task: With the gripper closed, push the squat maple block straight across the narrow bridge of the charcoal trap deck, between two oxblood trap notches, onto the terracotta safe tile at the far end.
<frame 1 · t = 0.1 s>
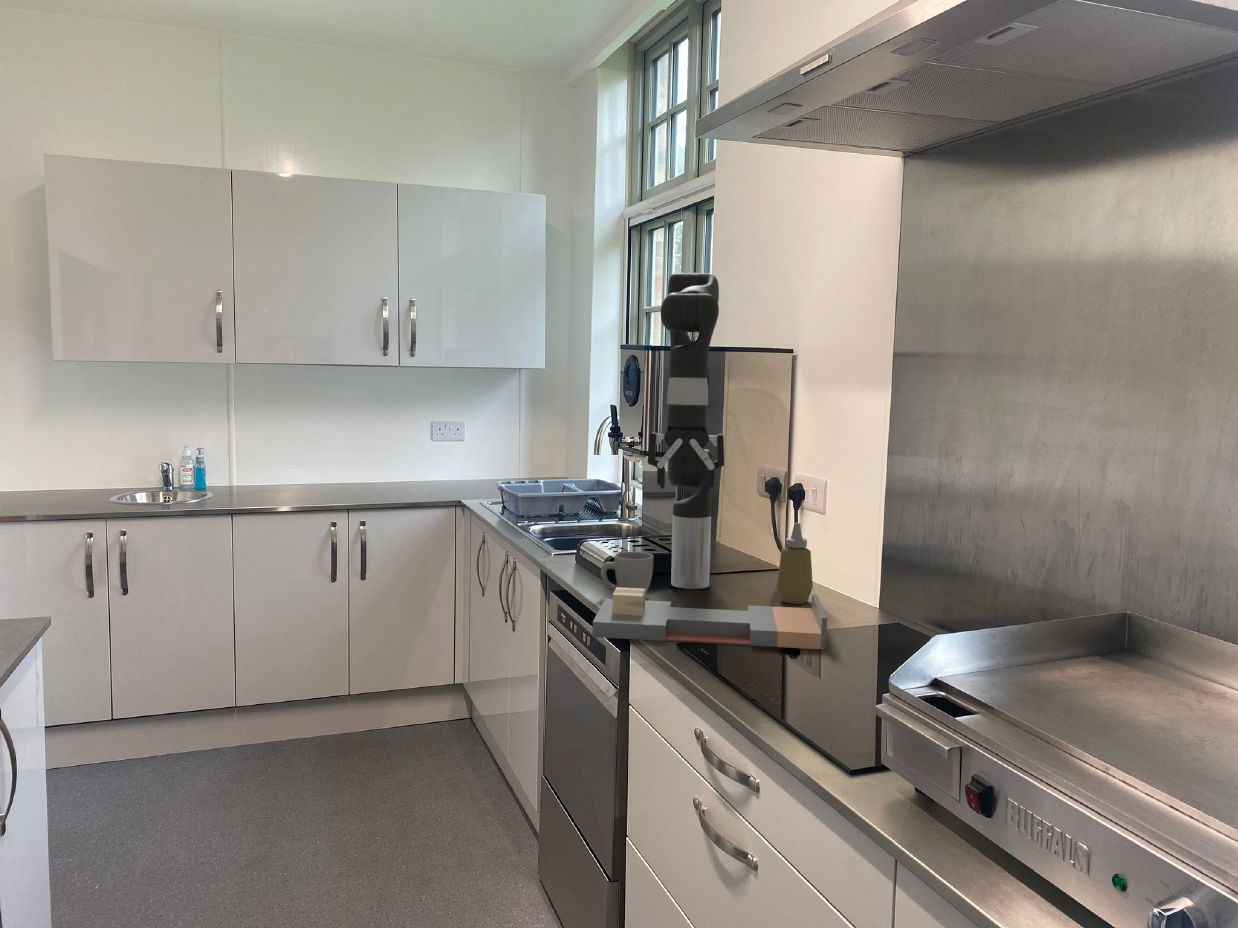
hand: (685, 488, 161), 29 cm above the worktop, fingers open, 8 cm apart
mug: (626, 597, 196), on the worktop
squeeze bottle: (794, 602, 195), on the worktop
maple block: (628, 610, 173), point 3 cm above the worktop, touching trap deck
trap deck: (708, 629, 171), on the worktop
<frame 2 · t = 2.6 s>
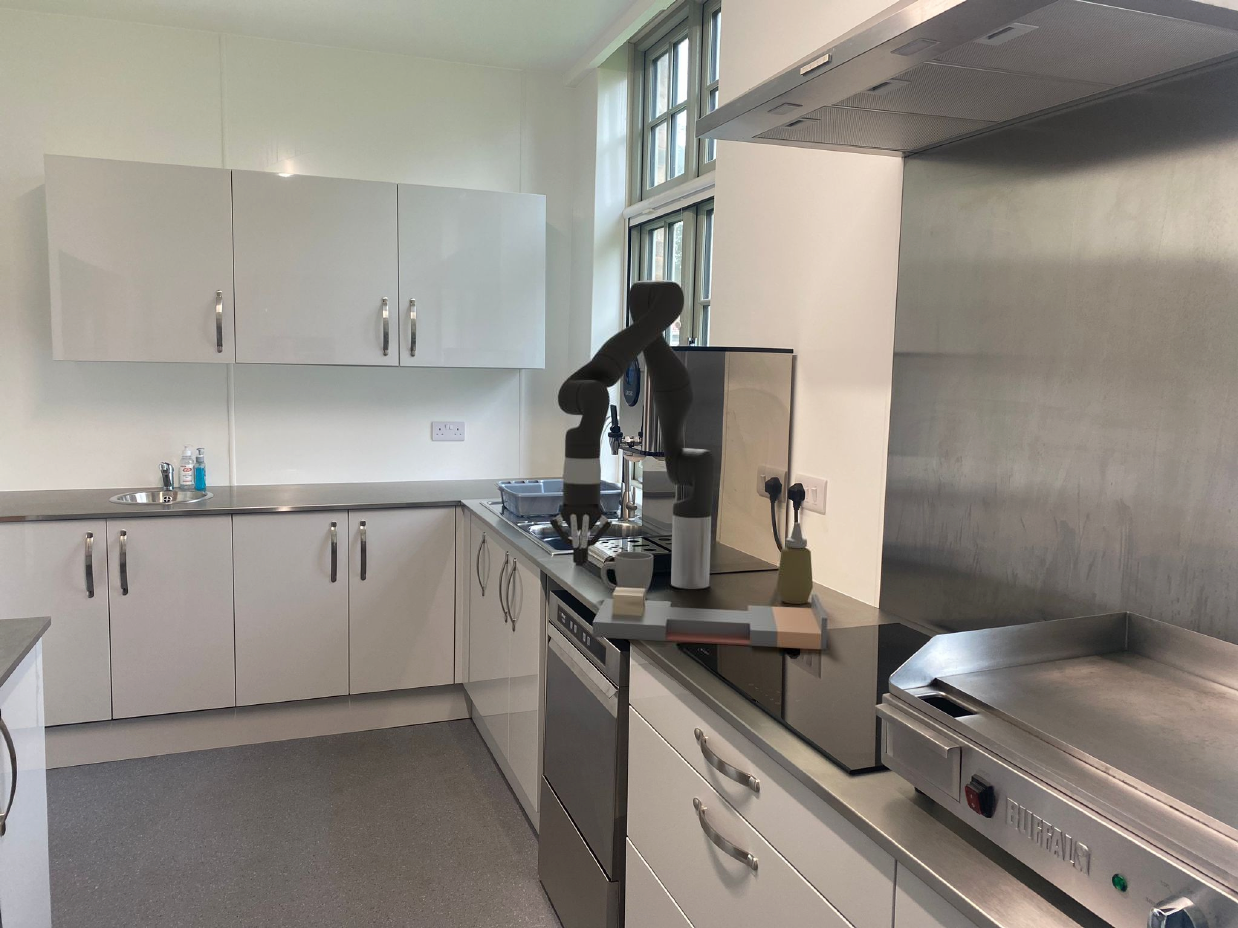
hand: (580, 565, 173), 12 cm above the worktop, fingers closed
nothing on the worktop moved.
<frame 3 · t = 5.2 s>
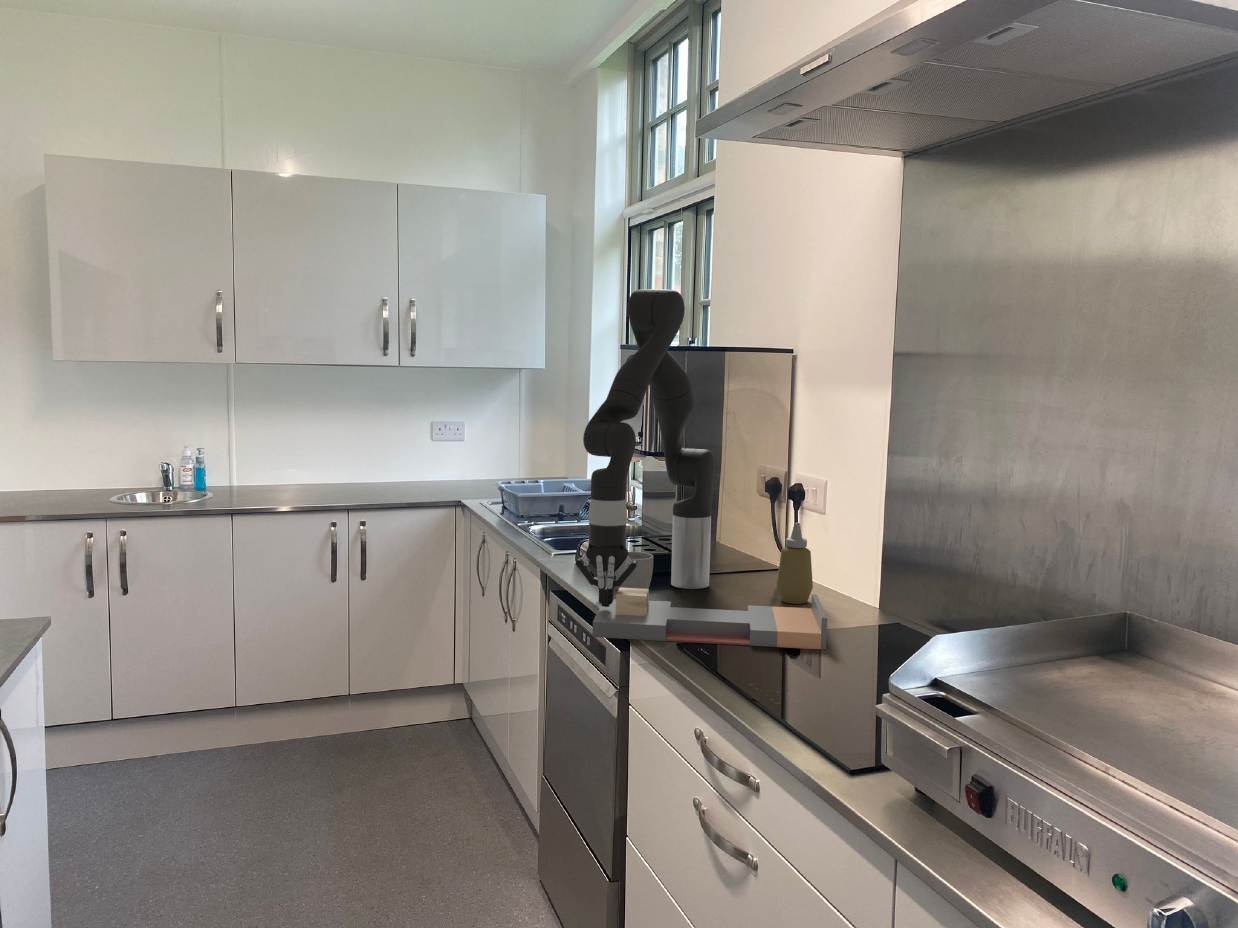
hand: (605, 605, 173), 4 cm above the worktop, fingers closed
maple block: (632, 611, 173), point 3 cm above the worktop, touching gripper, trap deck
everything else where it was.
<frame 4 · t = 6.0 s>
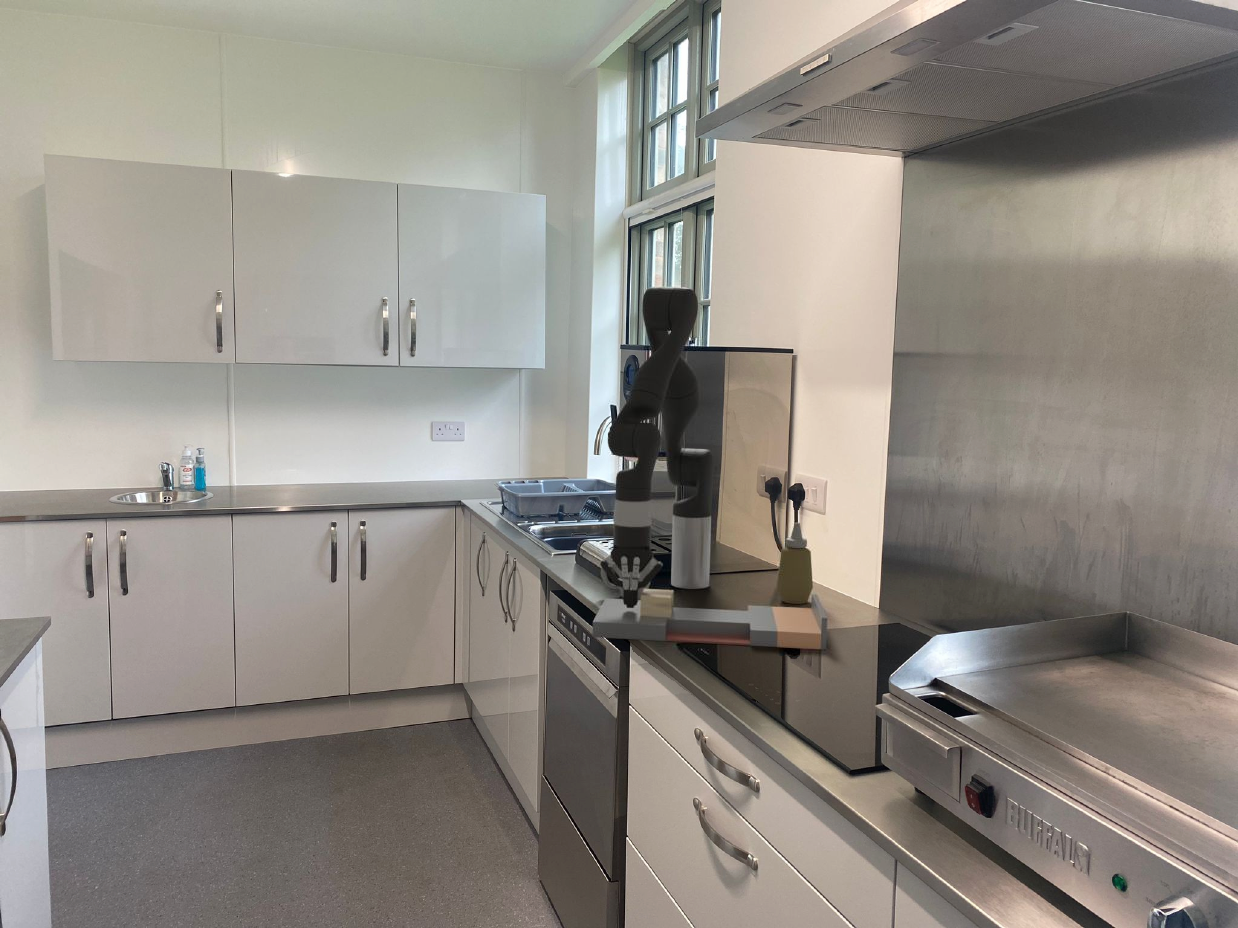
hand: (630, 606, 173), 4 cm above the worktop, fingers closed
maple block: (656, 612, 172), point 3 cm above the worktop, touching gripper
everything else where it was.
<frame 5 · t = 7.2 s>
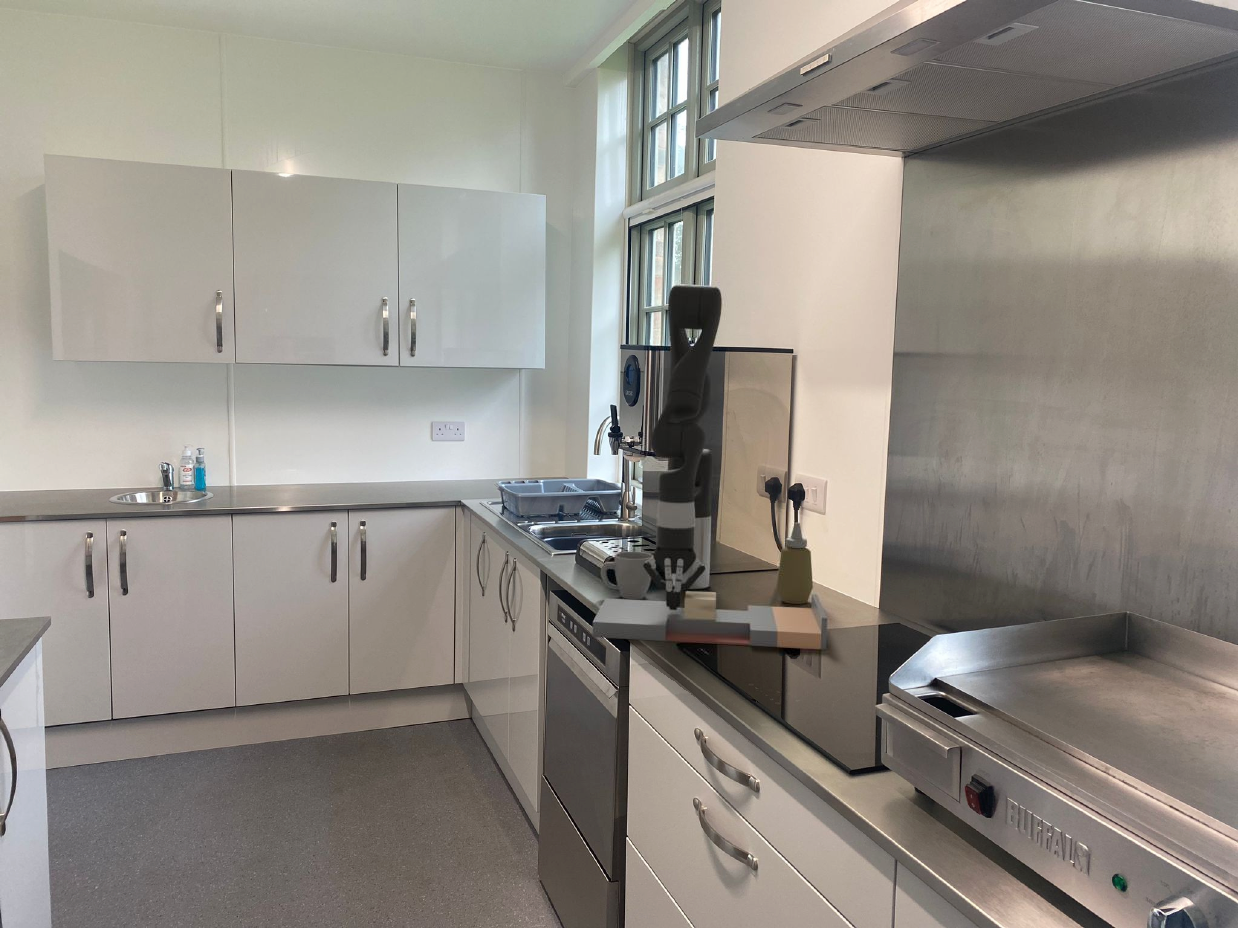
hand: (673, 608, 171), 4 cm above the worktop, fingers closed
maple block: (700, 615, 170), point 3 cm above the worktop, touching trap deck
everything else where it was.
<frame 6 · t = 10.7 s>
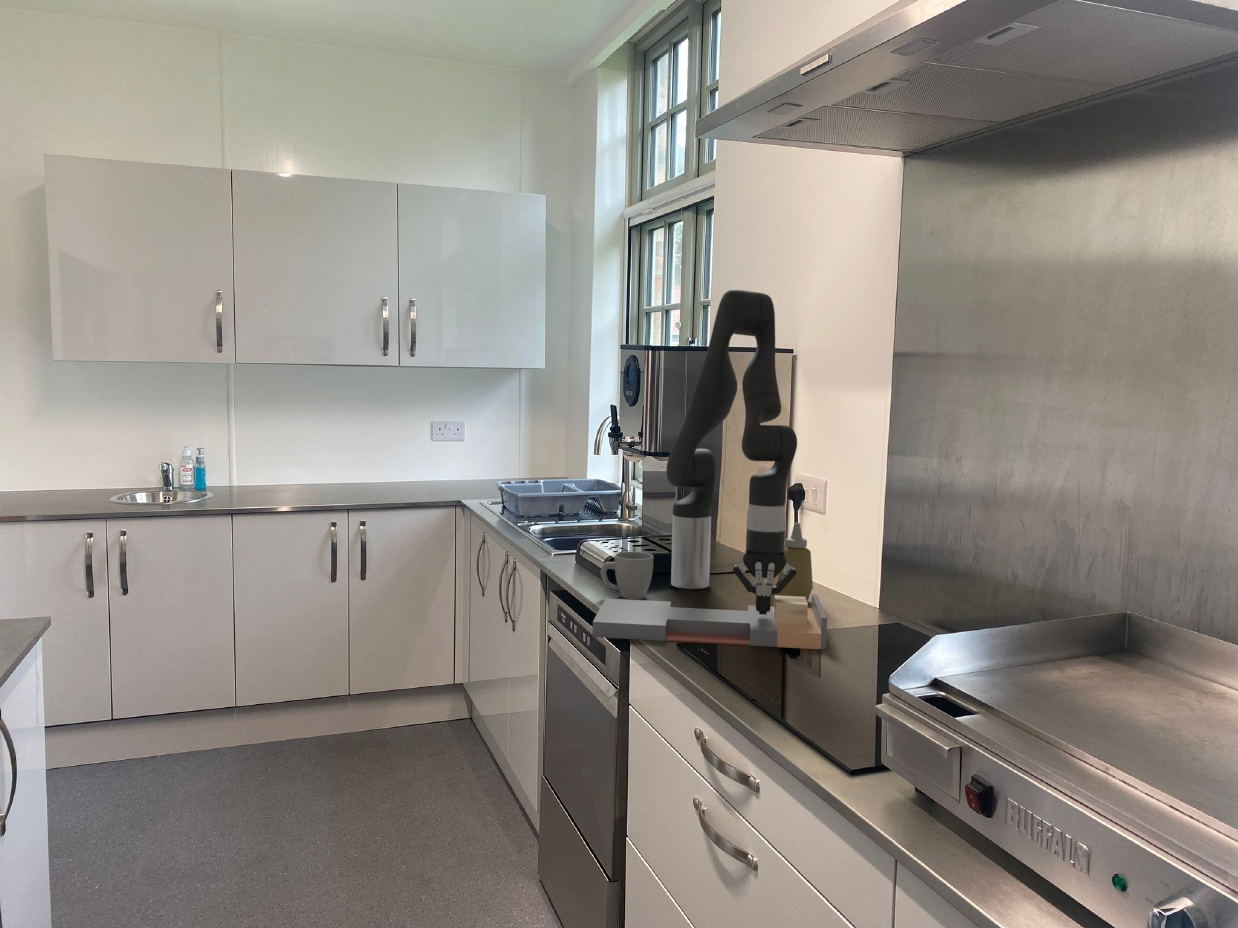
hand: (762, 613, 169), 4 cm above the worktop, fingers closed
maple block: (790, 619, 168), point 3 cm above the worktop, touching gripper, trap deck
everything else where it was.
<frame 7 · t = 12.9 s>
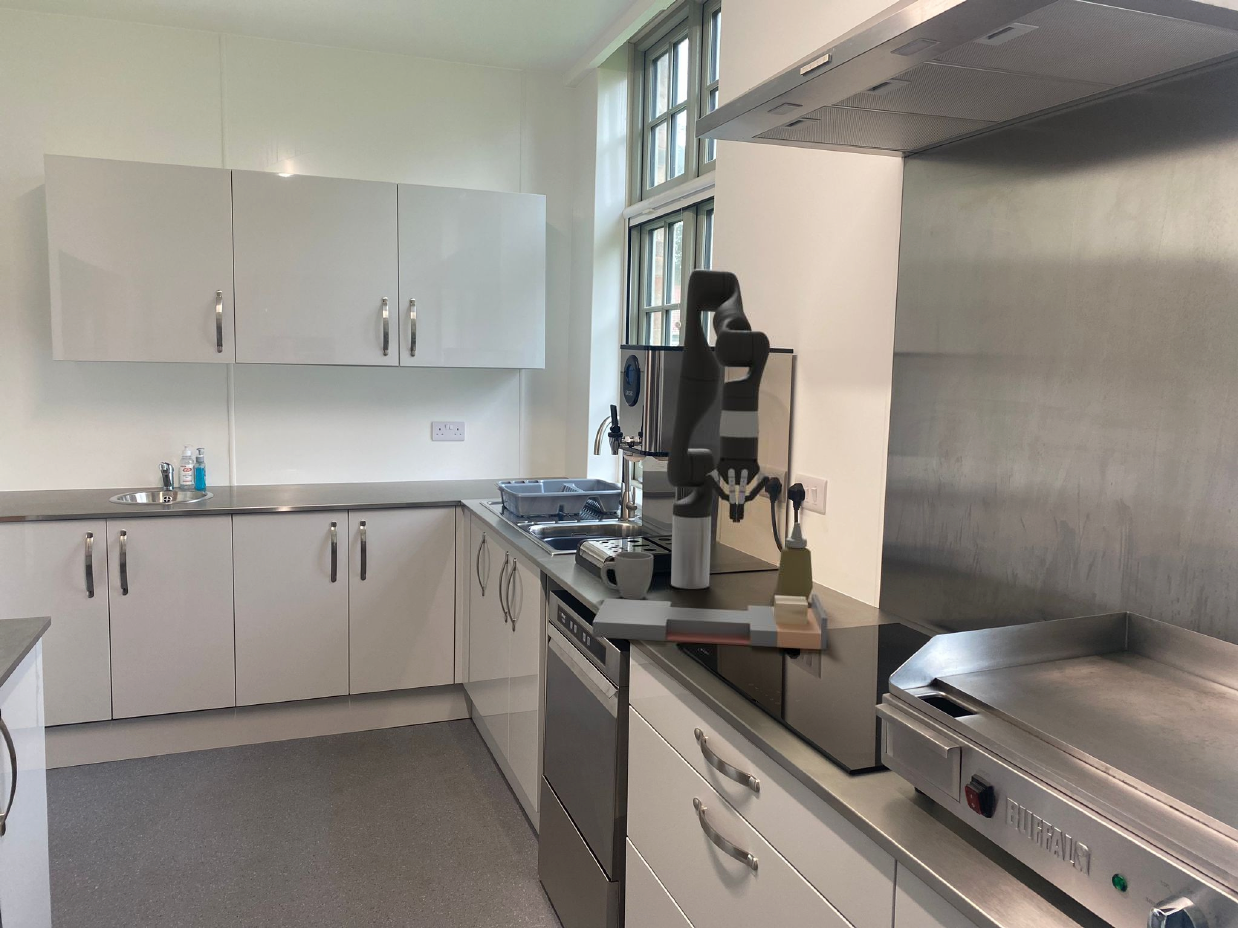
hand: (736, 521, 169), 22 cm above the worktop, fingers closed
maple block: (790, 619, 168), point 3 cm above the worktop, touching trap deck
everything else where it was.
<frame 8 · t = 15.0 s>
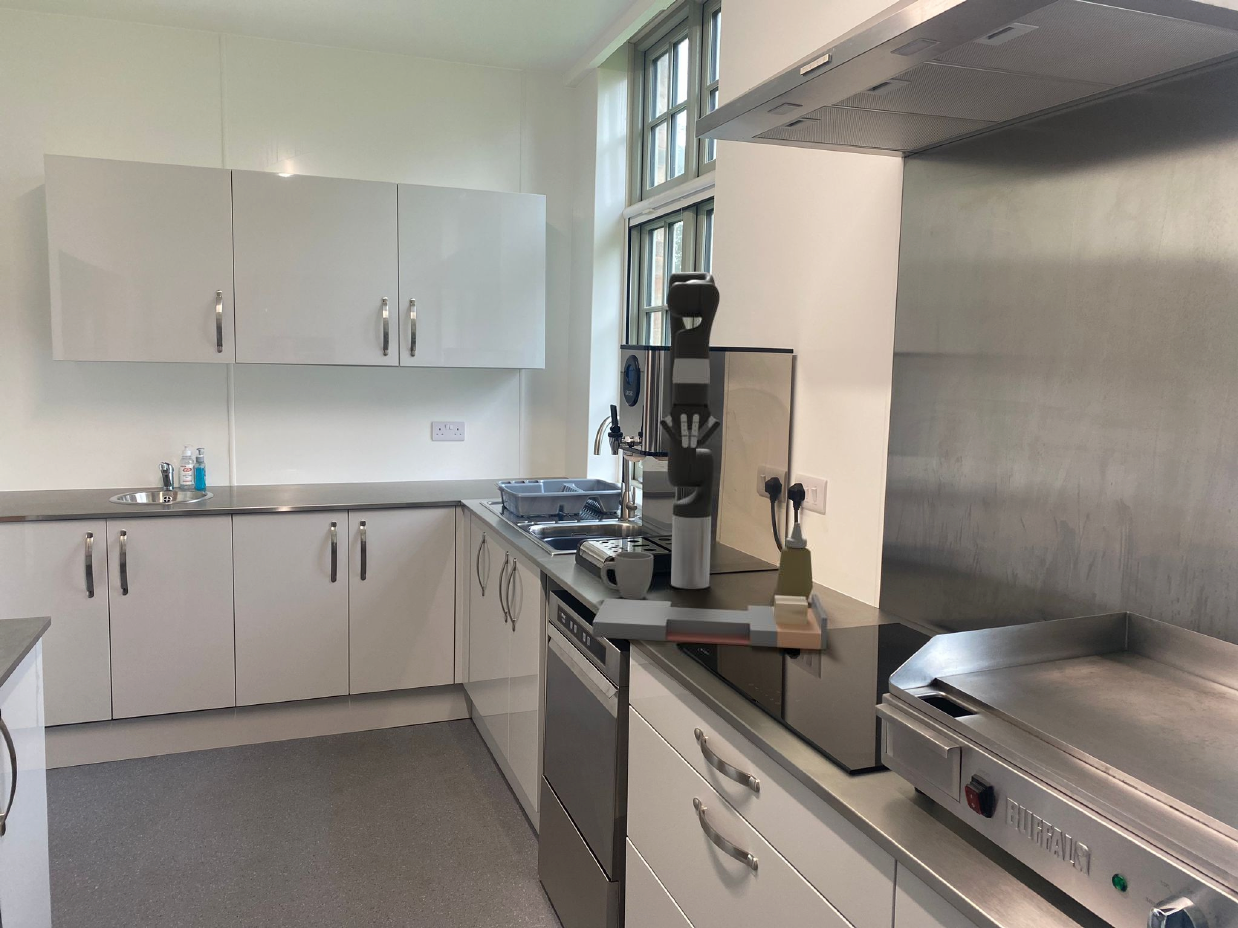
hand: (689, 465, 178), 32 cm above the worktop, fingers closed
nothing on the worktop moved.
at the end: maple block inside the target area on the trap deck (1.0 cm from its centre), point 3.0 cm above the trap deck's base; maple block tilted 0°; the gripper is holding nothing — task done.
